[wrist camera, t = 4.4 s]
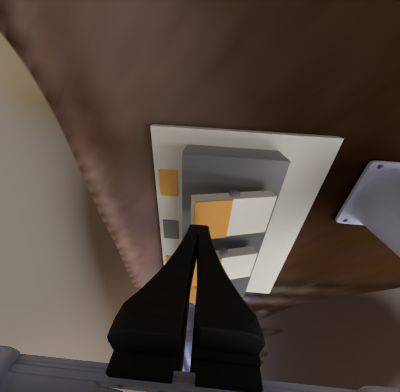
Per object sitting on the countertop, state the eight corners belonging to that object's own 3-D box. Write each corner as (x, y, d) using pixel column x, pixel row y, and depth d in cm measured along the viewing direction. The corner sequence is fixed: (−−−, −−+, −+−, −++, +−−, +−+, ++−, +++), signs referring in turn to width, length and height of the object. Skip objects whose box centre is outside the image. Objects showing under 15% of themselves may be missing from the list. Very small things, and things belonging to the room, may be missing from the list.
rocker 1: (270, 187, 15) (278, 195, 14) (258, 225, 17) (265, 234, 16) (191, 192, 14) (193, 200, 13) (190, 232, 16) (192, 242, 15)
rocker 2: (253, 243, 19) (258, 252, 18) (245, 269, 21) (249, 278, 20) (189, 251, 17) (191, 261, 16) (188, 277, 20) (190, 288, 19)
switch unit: (337, 136, 16) (369, 148, 13) (267, 288, 30) (274, 313, 27) (153, 123, 17) (138, 132, 14) (166, 278, 31) (160, 301, 27)
